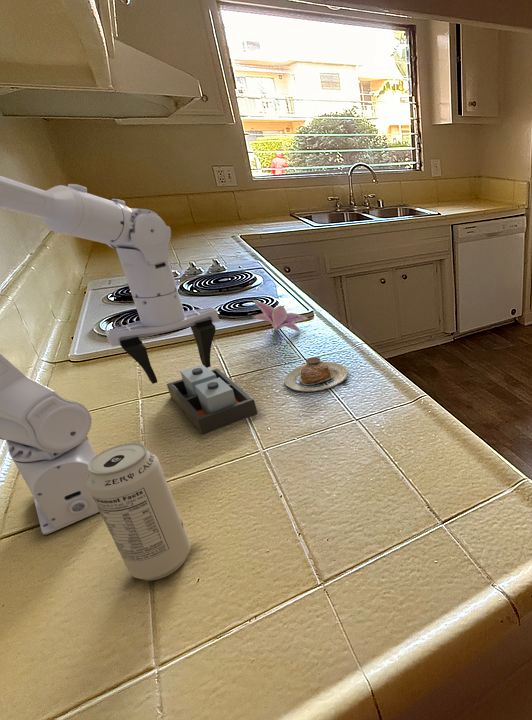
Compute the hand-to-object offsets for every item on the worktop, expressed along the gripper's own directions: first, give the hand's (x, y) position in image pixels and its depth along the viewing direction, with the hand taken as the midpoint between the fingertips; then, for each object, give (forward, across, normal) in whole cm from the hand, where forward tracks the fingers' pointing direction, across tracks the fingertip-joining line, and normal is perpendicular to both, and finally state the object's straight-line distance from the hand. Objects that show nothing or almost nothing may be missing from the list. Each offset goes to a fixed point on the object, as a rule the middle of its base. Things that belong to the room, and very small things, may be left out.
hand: (180, 373), depth 75 cm
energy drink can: (+10, +12, +29) cm, 33 cm away
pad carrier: (+9, -4, -2) cm, 10 cm away
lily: (+9, -26, -25) cm, 37 cm away
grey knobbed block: (+8, -4, +2) cm, 9 cm away
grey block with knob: (+9, -4, -6) cm, 11 cm away
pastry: (+9, -22, +1) cm, 24 cm away
